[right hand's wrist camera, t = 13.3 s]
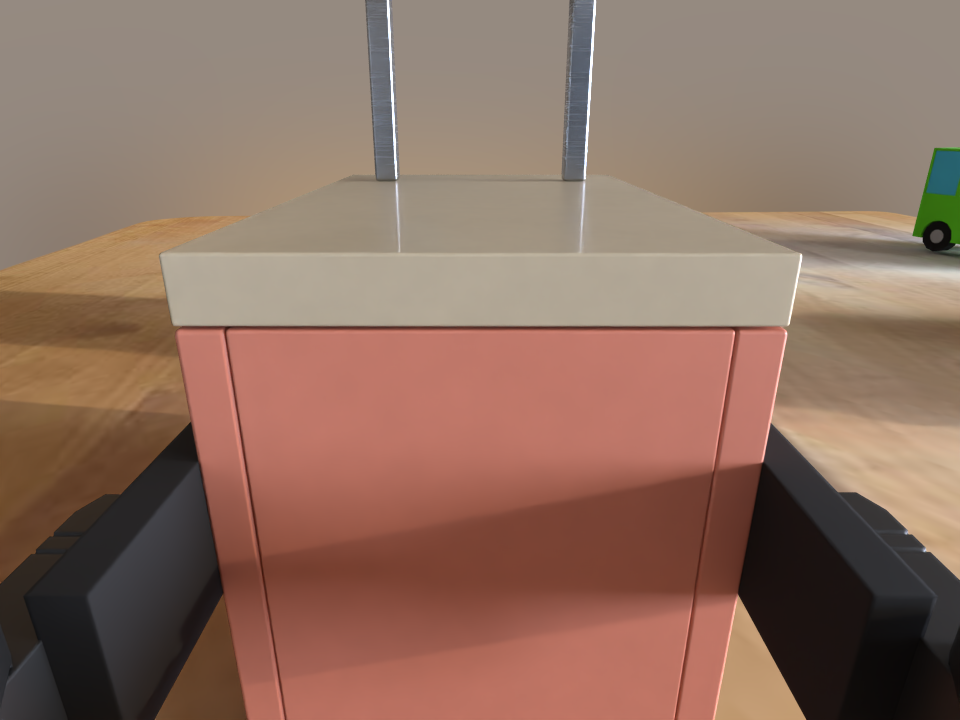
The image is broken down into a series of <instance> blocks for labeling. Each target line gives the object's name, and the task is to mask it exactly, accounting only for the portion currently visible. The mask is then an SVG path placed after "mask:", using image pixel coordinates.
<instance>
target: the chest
mask: <svg viewBox="0 0 960 720" xmlns="http://www.w3.org/2000/svg"><path fill="white" fill-rule="evenodd" d="M175 339H176V344H177V349H178V355H179V360H180V365H181V371H182V376H183V381H184V387H185V392H186V397H187V402H188V408H189V413H190V418H191V424H192V429H193V434H194V440H195V445H196V450H197V456H198V461H199V466H200V472H201V477H202V482H203V488H204V493H205V498H206V504H207V509H208V514H209V520H210V525H211V530H212V536H213V541H214V546H215V552H216V557H217V562H218V567H219V573H220V578H221V583H222V589H223V594H224V600H225V605H226V610H227V616H228V621H229V626H230V632H231V637H232V642H233V648H234V653H235V658H236V663H237V669H238V674H239V679H240V685H241V690H242V695H243V701H244V706H245V711H246V717H247V720H714V718H715V713H716V707H717V702H718V697H719V692H720V686H721V681H722V676H723V670H724V665H725V660H726V655H727V649H728V644H729V639H730V634H731V628H732V623H733V618H734V612H735V607H736V602H737V597H738V590H739V585H740V579H741V574H742V569H743V564H744V558H745V553H746V548H747V542H748V537H749V532H750V527H751V521H752V516H753V511H754V505H755V500H756V495H757V490H758V484H759V479H760V474H761V468H762V463H763V460H764V454H765V449H766V444H767V439H768V433H769V428H770V423H771V418H772V412H773V407H774V402H775V396H776V391H777V386H778V381H779V375H780V370H781V365H782V360H783V354H784V349H785V344H786V339H787V331H786V330H784V329H783V328H781V327H643V326H182V327H180V328H179V329H177V330H176V332H175Z"/></svg>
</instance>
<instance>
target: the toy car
mask: <svg viewBox="0 0 960 720" xmlns="http://www.w3.org/2000/svg"><path fill="white" fill-rule="evenodd" d="M913 236H916V237H923V243H924V245H925V246H926V248H928V249H929V250H931V251H942V250H949V249H950V248H952V247H953V246H955V244H960V148H935V149H934V152H933V156H932V160H931V164H930V168H929V172H928V176H927V180H926V184H925V188H924V192H923V196H922V200H921V204H920V208H919V212H918V216H917V220H916V224H915V228H914V232H913Z"/></svg>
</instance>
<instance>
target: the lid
mask: <svg viewBox="0 0 960 720" xmlns="http://www.w3.org/2000/svg"><path fill="white" fill-rule="evenodd" d="M365 3H366V20H367V38H368V54H369V72H370V89H371V106H372V123H373V141H374V157H375V175H352V176H349V177H347V178H344V179H342V180H339V181H337V182H334V183H332V184H330V185H327V186H325V187H322V188H320V189H317V190H315V191H312V192H310V193H307V194H305V195H302V196H300V197H297V198H295V199H292V200H290V201H288V202H285V203H283V204H280V205H278V206H275V207H273V208H270V209H268V210H265V211H263V212H261V213H258V214H255V215H253V216H251V217H248V218H246V219H243V220H241V221H238V222H236V223H233V224H231V225H228V226H226V227H223V228H221V229H218V230H216V231H214V232H211V233H209V234H206V235H204V236H201V237H199V238H196V239H194V240H191V241H189V242H186V243H184V244H181V245H179V246H177V247H174V248H172V249H169V250H167V251H164V252H162V253H160V254H159V259H160V264H161V269H162V275H163V280H164V285H165V291H166V296H167V301H168V307H169V312H170V317H171V322H172V325H173V326H643V327H785V326H789V324H790V319H791V313H792V308H793V303H794V298H795V292H796V287H797V282H798V276H799V271H800V266H801V261H802V254H801V253H799V252H796V251H794V250H791V249H789V248H786V247H784V246H781V245H779V244H777V243H774V242H772V241H769V240H767V239H764V238H762V237H759V236H757V235H754V234H752V233H749V232H747V231H745V230H742V229H740V228H737V227H735V226H732V225H730V224H727V223H725V222H722V221H720V220H717V219H715V218H713V217H710V216H708V215H705V214H703V213H700V212H698V211H695V210H693V209H690V208H688V207H685V206H683V205H681V204H678V203H676V202H673V201H671V200H668V199H666V198H663V197H661V196H658V195H656V194H653V193H651V192H649V191H646V190H644V189H641V188H639V187H636V186H634V185H631V184H629V183H626V182H624V181H621V180H619V179H617V178H614V177H612V176H609V175H586V161H587V145H588V128H589V111H590V94H591V77H592V60H593V44H594V27H595V10H596V0H570V5H569V27H568V48H567V70H566V92H565V113H564V135H563V157H562V175H400V174H399V152H398V130H397V107H396V85H395V63H394V40H393V18H392V0H365Z"/></svg>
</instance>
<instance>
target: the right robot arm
mask: <svg viewBox="0 0 960 720" xmlns="http://www.w3.org/2000/svg"><path fill="white" fill-rule="evenodd" d="M222 594H223V589H222V583H221V578H220V573H219V567H218V562H217V557H216V552H215V546H214V541H213V536H212V530H211V525H210V520H209V514H208V509H207V504H206V498H205V493H204V488H203V482H202V477H201V472H200V466H199V461H198V456H197V450H196V445H195V440H194V434H193V429H192V424H191V422H190V423H189V424H188V425H187V426H186V427H185V429H184V430H183V431H182V432H181V433H180V434H179V435H178V436H177V437H176V438H175V439H174V440H173V441H172V442H171V443H170V444H169V445H168V446H167V447H166V448H165V449H164V450H163V451H162V452H161V453H160V454H159V455H158V457H157V458H156V459H155V460H154V461H153V462H152V463H151V464H150V465H149V466H148V467H147V468H146V469H145V470H144V471H143V472H142V473H141V474H140V475H139V476H138V477H137V478H136V479H135V480H134V481H133V482H132V484H131V485H130V486H129V487H128V488H127V489H126V490H125V491H124V492H123V493H122V494H105V495H103V496H102V497H100V498H98V499H97V500H95V501H93V502H91V503H90V504H88V505H86V506H85V507H83V508H81V509H79V510H78V511H76V512H75V513H74V514H73V515H72V516H71V517H69V518H68V519H67V520H66V521H65V522H64V523H63V524H62V525H61V526H60V527H59V528H58V529H57V530H56V531H55V532H54V536H53V537H49V538H48V539H47V540H46V541H45V542H44V543H42V544H41V545H40V546H39V547H38V548H37V549H36V553H35V554H31V555H30V556H29V557H28V558H27V559H26V560H25V561H24V562H23V563H22V564H21V565H20V566H19V567H18V568H17V569H16V570H14V571H13V572H12V573H11V574H10V575H9V576H8V577H7V578H6V579H5V580H4V581H3V582H2V583H1V584H0V720H154V719H155V717H156V716H157V714H158V712H159V710H160V708H161V706H162V705H163V703H164V701H165V699H166V697H167V695H168V694H169V692H170V690H171V688H172V686H173V684H174V683H175V681H176V679H177V677H178V675H179V673H180V672H181V670H182V668H183V666H184V664H185V662H186V661H187V659H188V657H189V655H190V653H191V651H192V649H193V648H194V646H195V644H196V642H197V640H198V638H199V637H200V635H201V633H202V631H203V629H204V627H205V626H206V624H207V622H208V620H209V618H210V616H211V615H212V613H213V611H214V609H215V607H216V605H217V604H218V602H219V600H220V598H221V596H222ZM738 595H739V597H740V599H741V600H742V602H743V604H744V606H745V608H746V610H747V611H748V613H749V615H750V617H751V619H752V621H753V622H754V624H755V626H756V628H757V630H758V632H759V633H760V635H761V637H762V639H763V641H764V643H765V645H766V646H767V648H768V650H769V652H770V654H771V656H772V657H773V659H774V661H775V663H776V665H777V667H778V668H779V670H780V672H781V674H782V676H783V678H784V679H785V681H786V683H787V685H788V687H789V689H790V690H791V692H792V694H793V696H794V698H795V700H796V701H797V703H798V705H799V707H800V709H801V711H802V712H803V714H804V716H805V718H806V720H960V580H959V579H958V578H957V577H956V576H955V575H954V574H953V573H952V572H951V571H950V570H948V569H947V568H946V567H945V566H944V565H943V564H942V563H941V562H940V561H939V560H938V559H937V558H936V557H935V556H934V555H933V554H932V553H931V552H926V548H925V547H924V546H923V545H922V544H921V543H920V542H919V541H918V540H917V539H916V538H915V537H914V536H913V535H908V530H907V529H906V528H905V527H904V526H902V525H901V524H900V523H899V522H898V521H897V520H896V519H895V518H894V517H893V516H892V515H891V514H890V513H889V512H888V511H887V510H885V509H884V508H882V507H880V506H879V505H877V504H875V503H873V502H872V501H870V500H868V499H866V498H865V497H863V496H861V495H860V494H858V493H856V492H837V491H836V490H835V489H834V488H833V487H832V486H831V485H830V484H829V483H828V482H827V481H826V480H825V479H824V478H823V476H822V475H821V474H820V473H819V472H818V471H817V470H816V469H815V468H814V467H813V466H812V465H811V464H810V463H809V462H808V461H807V460H806V459H805V458H804V457H803V456H802V455H801V454H800V453H799V452H798V451H797V450H796V448H795V447H794V446H793V445H792V444H791V443H790V442H789V441H788V440H787V439H786V438H785V437H784V436H783V435H782V434H781V433H780V432H779V431H778V430H777V429H776V428H775V427H774V426H773V425H772V424H771V423H770V428H769V433H768V439H767V444H766V449H765V454H764V460H763V463H762V468H761V474H760V479H759V484H758V490H757V495H756V500H755V505H754V511H753V516H752V521H751V527H750V532H749V537H748V542H747V548H746V553H745V558H744V564H743V569H742V574H741V579H740V585H739V590H738Z"/></svg>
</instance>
